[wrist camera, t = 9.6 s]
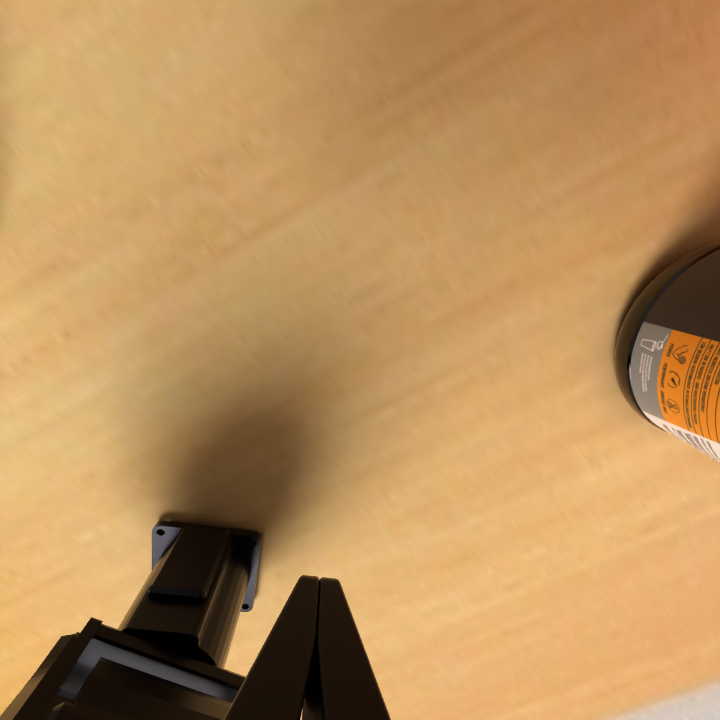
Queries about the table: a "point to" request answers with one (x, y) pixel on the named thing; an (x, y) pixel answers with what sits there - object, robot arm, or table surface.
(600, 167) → the table surface
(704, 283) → the supplement container
